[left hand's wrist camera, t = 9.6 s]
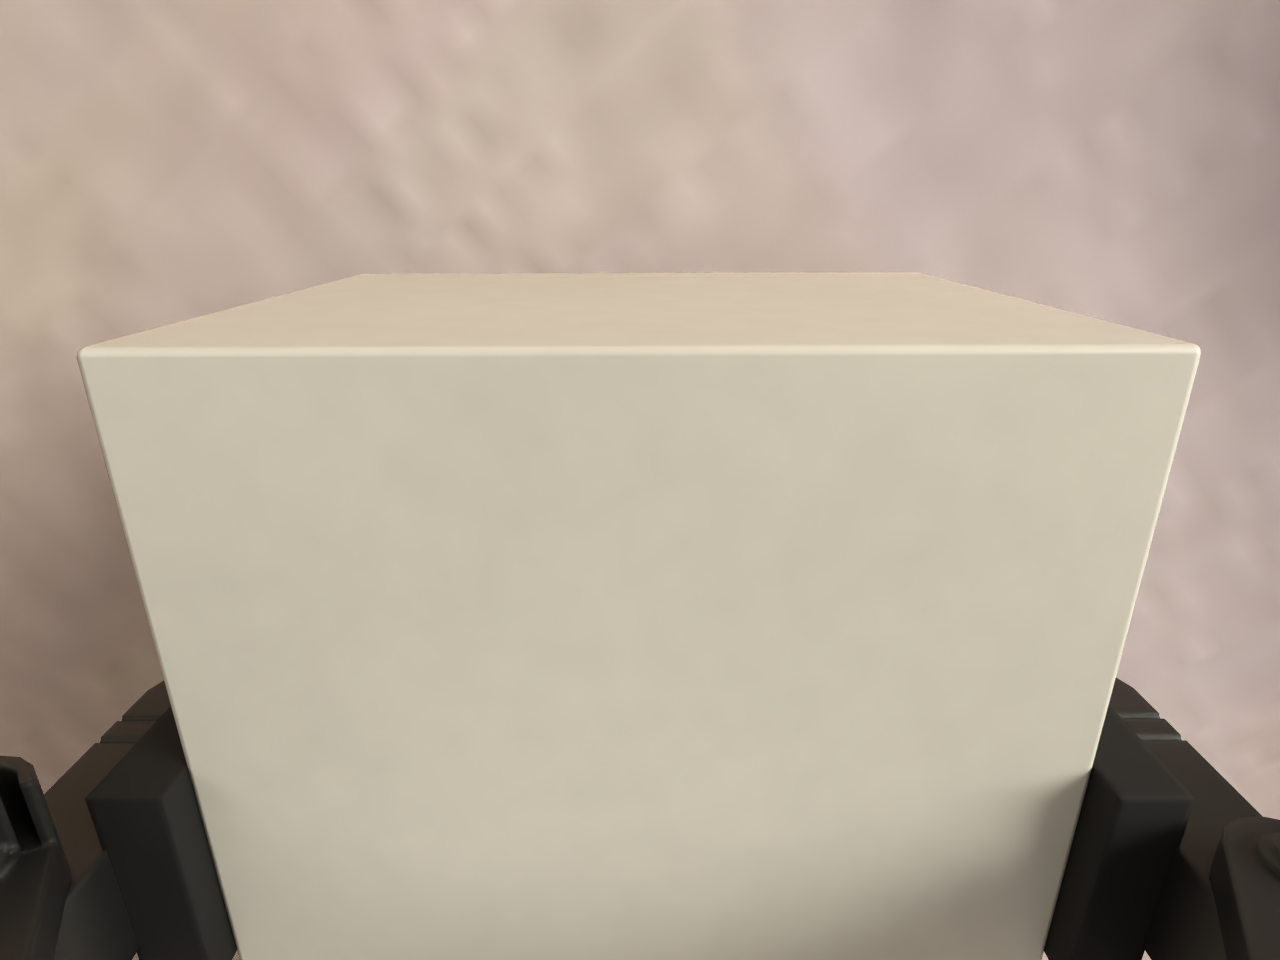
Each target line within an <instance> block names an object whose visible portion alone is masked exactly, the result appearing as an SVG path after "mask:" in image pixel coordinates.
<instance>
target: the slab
mask: <svg viewBox="0 0 1280 960" xmlns="http://www.w3.org/2000/svg"><path fill="white" fill-rule="evenodd" d="M1200 356H1201V352H1200V348H1199V347H1198V346H1197V345H1195V344H1193V343H1190V342H1186V341H1182V340H1178V339H1174V338H1170V337H1167V336H1163V335H1159V334H1155V333H1151V332H1147V331H1143V330H1139V329H1136V328H1132V327H1128V326H1124V325H1120V324H1116V323H1112V322H1109V321H1105V320H1101V319H1097V318H1093V317H1089V316H1085V315H1081V314H1078V313H1074V312H1070V311H1066V310H1062V309H1058V308H1054V307H1050V306H1047V305H1043V304H1039V303H1035V302H1031V301H1027V300H1023V299H1019V298H1016V297H1012V296H1008V295H1004V294H1000V293H996V292H992V291H988V290H985V289H981V288H977V287H973V286H969V285H965V284H961V283H957V282H954V281H950V280H946V279H942V278H938V277H934V276H930V275H926V274H923V273H919V272H779V273H469V274H359V275H355V276H352V277H348V278H344V279H340V280H336V281H333V282H329V283H325V284H321V285H317V286H314V287H310V288H306V289H302V290H298V291H295V292H291V293H287V294H283V295H279V296H276V297H272V298H268V299H264V300H260V301H257V302H253V303H249V304H245V305H241V306H238V307H234V308H230V309H226V310H222V311H218V312H215V313H211V314H207V315H203V316H199V317H196V318H192V319H188V320H184V321H180V322H177V323H173V324H169V325H165V326H161V327H158V328H154V329H150V330H146V331H142V332H139V333H135V334H131V335H127V336H123V337H120V338H116V339H112V340H108V341H104V342H101V343H97V344H93V345H89V346H86V347H84V348H82V349H80V350H79V351H78V352H77V361H78V365H79V368H80V372H81V376H82V379H83V383H84V387H85V390H86V394H87V398H88V401H89V405H90V409H91V412H92V416H93V420H94V424H95V427H96V431H97V435H98V438H99V442H100V446H101V449H102V453H103V457H104V460H105V464H106V468H107V471H108V475H109V479H110V482H111V486H112V490H113V494H114V497H115V501H116V505H117V508H118V512H119V516H120V519H121V523H122V527H123V530H124V534H125V538H126V541H127V545H128V549H129V552H130V556H131V560H132V563H133V567H134V571H135V575H136V578H137V582H138V586H139V589H140V593H141V597H142V600H143V604H144V608H145V611H146V615H147V619H148V622H149V626H150V630H151V633H152V637H153V641H154V645H155V648H156V652H157V656H158V659H159V663H160V667H161V670H162V674H163V678H164V681H165V685H166V689H167V692H168V696H169V700H170V703H171V707H172V711H173V715H174V718H175V722H176V726H177V729H178V733H179V737H180V740H181V744H182V748H183V751H184V755H185V759H186V762H187V766H188V770H189V773H190V777H191V781H192V785H193V788H194V792H195V796H196V799H197V803H198V807H199V810H200V814H201V818H202V821H203V825H204V829H205V832H206V836H207V840H208V843H209V847H210V851H211V855H212V858H213V862H214V866H215V869H216V873H217V877H218V880H219V884H220V888H221V891H222V895H223V899H224V902H225V906H226V910H227V913H228V917H229V921H230V925H231V928H232V932H233V936H234V939H235V943H236V947H237V950H238V954H239V958H240V960H1041V959H1042V955H1043V952H1044V948H1045V944H1046V940H1047V936H1048V933H1049V929H1050V925H1051V921H1052V917H1053V914H1054V910H1055V906H1056V902H1057V898H1058V895H1059V891H1060V887H1061V883H1062V880H1063V876H1064V872H1065V868H1066V864H1067V861H1068V857H1069V853H1070V849H1071V845H1072V842H1073V838H1074V834H1075V830H1076V826H1077V823H1078V819H1079V815H1080V811H1081V807H1082V804H1083V800H1084V796H1085V792H1086V788H1087V785H1088V781H1089V777H1090V773H1091V769H1092V766H1093V762H1094V758H1095V754H1096V750H1097V747H1098V743H1099V739H1100V735H1101V732H1102V728H1103V724H1104V720H1105V716H1106V713H1107V709H1108V705H1109V701H1110V697H1111V694H1112V690H1113V686H1114V682H1115V678H1116V675H1117V671H1118V667H1119V663H1120V659H1121V656H1122V652H1123V648H1124V644H1125V640H1126V637H1127V633H1128V629H1129V625H1130V621H1131V618H1132V614H1133V610H1134V606H1135V602H1136V599H1137V595H1138V591H1139V587H1140V583H1141V580H1142V576H1143V572H1144V568H1145V565H1146V561H1147V557H1148V553H1149V549H1150V546H1151V542H1152V538H1153V534H1154V530H1155V527H1156V523H1157V519H1158V515H1159V511H1160V508H1161V504H1162V500H1163V496H1164V492H1165V489H1166V485H1167V481H1168V477H1169V473H1170V470H1171V466H1172V462H1173V458H1174V454H1175V451H1176V447H1177V443H1178V439H1179V435H1180V432H1181V428H1182V424H1183V420H1184V417H1185V413H1186V409H1187V405H1188V401H1189V398H1190V394H1191V390H1192V386H1193V382H1194V379H1195V375H1196V371H1197V367H1198V363H1199V360H1200Z"/></svg>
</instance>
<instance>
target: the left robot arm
mask: <svg viewBox="0 0 1280 960" xmlns="http://www.w3.org/2000/svg"><path fill="white" fill-rule="evenodd" d="M122 717H123V718H122V721H117V722H116V723H115V724H114V725H113V726H112V727H111V728H110V729H109V730H108V731H107V732H106V733H105V734H104V735H103V736H102V737H101V742H100V743H95V744H94V745H93V746H92V747H91V748H90V749H89V750H88V751H87V752H86V753H85V754H84V755H83V756H82V757H81V758H80V759H79V760H78V761H77V762H76V763H75V764H74V765H73V766H72V767H71V768H70V769H69V770H68V771H67V772H66V773H65V774H64V775H63V776H62V777H61V778H60V779H59V780H58V781H57V782H56V783H55V784H54V785H53V786H52V787H51V788H50V789H49V790H48V791H47V792H46V793H45V794H43V792H42V789H41V786H40V783H39V781H38V778H37V775H36V772H35V770H34V767H33V765H31V764H30V763H28V762H27V761H25V760H23V759H22V758H20V757H9V756H0V960H132V958H133V957H134V955H135V954H136V952H137V954H138V957H139V960H232V958H233V956H234V955H235V953H236V951H237V947H236V943H235V939H234V936H233V932H232V928H231V925H230V921H229V917H228V913H227V910H226V906H225V902H224V899H223V895H222V891H221V888H220V884H219V880H218V877H217V873H216V869H215V866H214V862H213V858H212V855H211V851H210V847H209V843H208V840H207V836H206V832H205V829H204V825H203V821H202V818H201V814H200V810H199V807H198V803H197V799H196V796H195V792H194V788H193V785H192V781H191V777H190V773H189V770H188V766H187V762H186V759H185V755H184V751H183V748H182V744H181V740H180V737H179V733H178V729H177V726H176V722H175V718H174V715H173V711H172V707H171V703H170V700H169V696H168V692H167V689H166V685H165V681H163V682H161V683H159V684H158V685H156V686H155V687H153V688H151V689H150V690H148V691H147V692H146V693H145V694H144V695H143V696H142V697H141V698H140V699H139V700H138V701H137V702H136V703H135V704H134V705H133V706H132V707H131V708H130V709H129V710H128V711H127V712H126V713H125V714H124V715H123V716H122ZM1144 951H1146V952H1147V954H1148V955H1149V957H1150V958H1151V960H1280V820H1277V819H1272V818H1267V817H1262V816H1261V815H1260V814H1259V813H1258V812H1257V811H1256V810H1255V809H1254V808H1253V807H1252V806H1251V805H1250V804H1249V803H1248V802H1247V801H1246V800H1245V799H1244V798H1243V797H1242V796H1241V795H1240V794H1239V793H1238V792H1237V791H1236V790H1235V789H1234V788H1233V787H1232V786H1231V785H1230V784H1229V783H1228V782H1227V781H1226V780H1225V779H1224V778H1223V777H1222V776H1221V775H1220V774H1219V773H1218V772H1217V771H1216V770H1215V769H1214V768H1213V767H1212V766H1211V765H1210V764H1209V763H1208V762H1207V761H1206V760H1205V759H1204V758H1203V757H1202V756H1201V755H1200V754H1199V753H1198V752H1197V751H1196V750H1195V749H1194V748H1193V747H1192V746H1191V745H1190V744H1189V743H1188V742H1187V741H1182V740H1181V735H1180V734H1179V733H1178V732H1177V731H1176V730H1175V729H1174V728H1173V727H1172V726H1171V725H1170V724H1169V723H1168V722H1167V721H1166V720H1165V719H1160V718H1159V713H1158V712H1157V711H1156V710H1155V709H1154V708H1153V707H1152V706H1151V705H1150V704H1149V703H1148V702H1147V701H1146V700H1145V699H1144V698H1143V697H1142V696H1141V695H1140V694H1139V693H1138V692H1137V691H1136V690H1135V689H1134V688H1132V687H1131V686H1129V685H1127V684H1126V683H1124V682H1122V681H1121V680H1119V679H1118V678H1115V682H1114V686H1113V690H1112V694H1111V697H1110V701H1109V705H1108V709H1107V713H1106V716H1105V720H1104V724H1103V728H1102V732H1101V735H1100V739H1099V743H1098V747H1097V750H1096V754H1095V758H1094V762H1093V766H1092V769H1091V773H1090V777H1089V781H1088V785H1087V788H1086V792H1085V796H1084V800H1083V804H1082V807H1081V811H1080V815H1079V819H1078V823H1077V826H1076V830H1075V834H1074V838H1073V842H1072V845H1071V849H1070V853H1069V857H1068V861H1067V864H1066V868H1065V872H1064V876H1063V880H1062V883H1061V887H1060V891H1059V895H1058V898H1057V902H1056V906H1055V910H1054V914H1053V917H1052V921H1051V925H1050V929H1049V933H1048V936H1047V940H1046V944H1045V948H1044V952H1045V953H1046V955H1047V957H1048V959H1049V960H1142V957H1143V954H1144Z"/></svg>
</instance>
